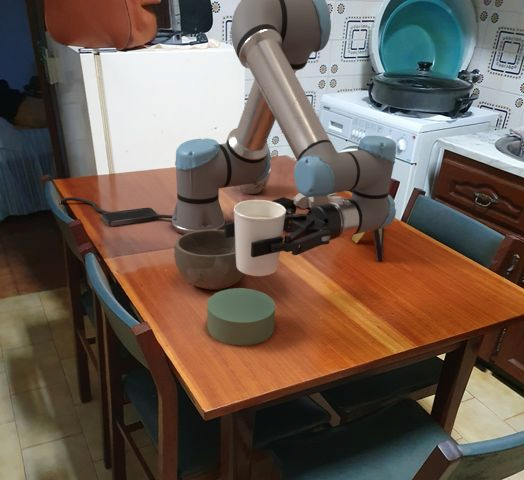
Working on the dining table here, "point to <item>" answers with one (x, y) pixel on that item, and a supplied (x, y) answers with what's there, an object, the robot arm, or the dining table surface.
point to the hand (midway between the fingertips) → (238, 240)
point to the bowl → (207, 259)
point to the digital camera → (286, 203)
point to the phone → (129, 216)
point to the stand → (240, 316)
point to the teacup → (255, 185)
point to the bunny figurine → (314, 200)
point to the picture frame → (378, 241)
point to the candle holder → (257, 234)
